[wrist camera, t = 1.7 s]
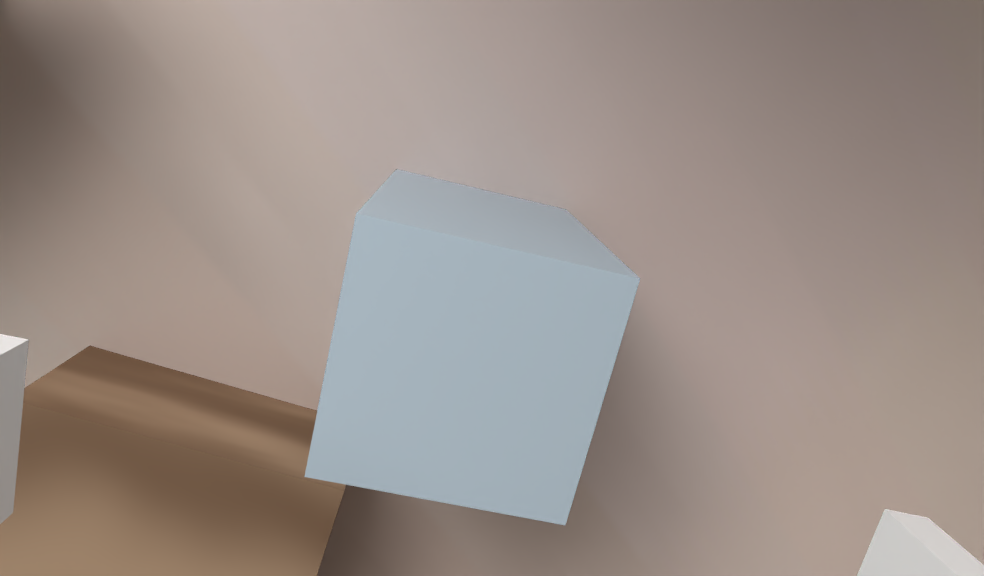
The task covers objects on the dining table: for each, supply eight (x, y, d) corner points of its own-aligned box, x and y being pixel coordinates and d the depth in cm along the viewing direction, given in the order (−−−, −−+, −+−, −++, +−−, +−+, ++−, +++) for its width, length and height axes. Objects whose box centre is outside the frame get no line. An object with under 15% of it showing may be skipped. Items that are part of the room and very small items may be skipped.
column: (396, 168, 24) (356, 213, 14) (565, 209, 24) (639, 278, 15) (362, 333, 25) (304, 476, 15) (523, 366, 26) (565, 525, 16)
